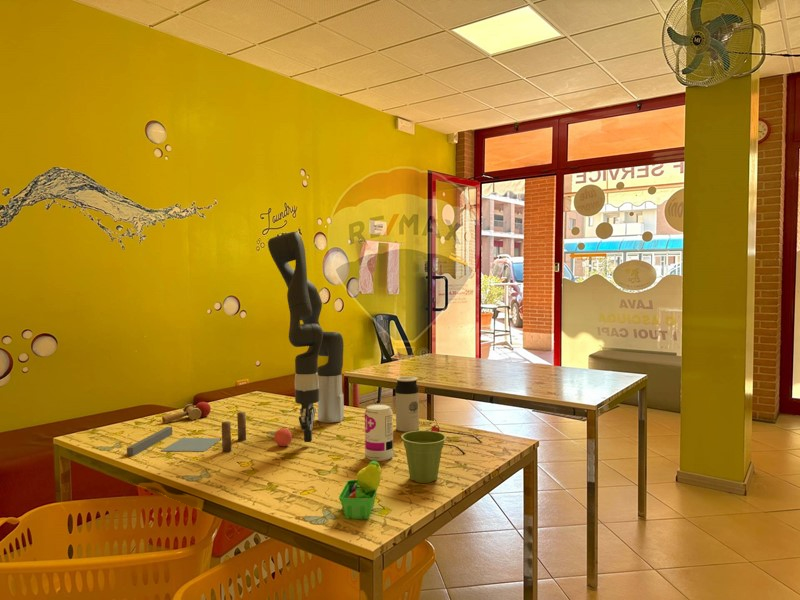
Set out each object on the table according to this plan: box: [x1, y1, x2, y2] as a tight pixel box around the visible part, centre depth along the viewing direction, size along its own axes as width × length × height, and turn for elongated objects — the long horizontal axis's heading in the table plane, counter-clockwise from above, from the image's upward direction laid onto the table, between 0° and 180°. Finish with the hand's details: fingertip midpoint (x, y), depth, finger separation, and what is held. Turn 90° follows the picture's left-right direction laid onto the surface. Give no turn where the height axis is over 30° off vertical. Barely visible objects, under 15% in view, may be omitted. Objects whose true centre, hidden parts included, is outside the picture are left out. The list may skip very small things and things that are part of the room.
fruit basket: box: [338, 460, 382, 520], centre depth 126 cm, size 11×9×11 cm
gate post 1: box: [221, 421, 232, 453], centre depth 172 cm, size 3×3×9 cm
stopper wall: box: [126, 426, 173, 457], centre depth 181 cm, size 2×24×2 cm, turn 175°
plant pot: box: [400, 429, 447, 484], centre depth 146 cm, size 12×12×11 cm
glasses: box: [425, 425, 482, 455], centre depth 175 cm, size 14×16×5 cm
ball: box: [273, 427, 293, 447], centre depth 177 cm, size 6×6×6 cm
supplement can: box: [364, 403, 394, 462], centre depth 164 cm, size 8×8×15 cm
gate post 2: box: [236, 411, 247, 442], centre depth 185 cm, size 3×3×9 cm
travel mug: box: [395, 375, 420, 433], centre depth 194 cm, size 8×8×18 cm
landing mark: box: [160, 437, 222, 453], centre depth 180 cm, size 14×14×1 cm
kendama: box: [161, 401, 212, 425], centre depth 214 cm, size 8×6×18 cm
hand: (308, 441), depth 176 cm, fingers closed
